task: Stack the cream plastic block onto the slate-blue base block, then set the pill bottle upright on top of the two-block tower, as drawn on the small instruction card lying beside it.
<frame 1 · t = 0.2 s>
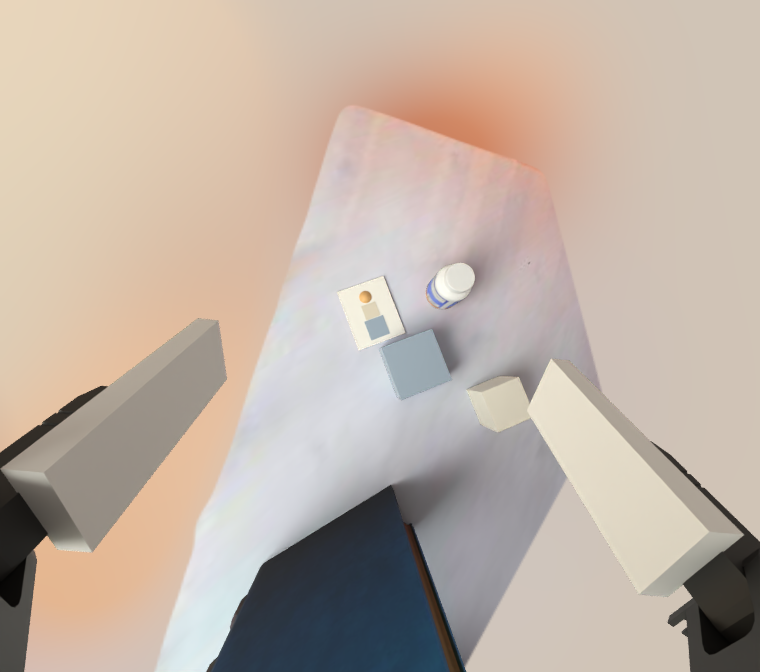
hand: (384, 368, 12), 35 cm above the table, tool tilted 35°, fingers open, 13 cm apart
base block: (410, 364, 48), on the table
pill bottle: (440, 294, 50), on the table
book: (334, 554, 44), on the table
cream cube: (489, 399, 49), on the table
instruction card: (371, 312, 48), on the table
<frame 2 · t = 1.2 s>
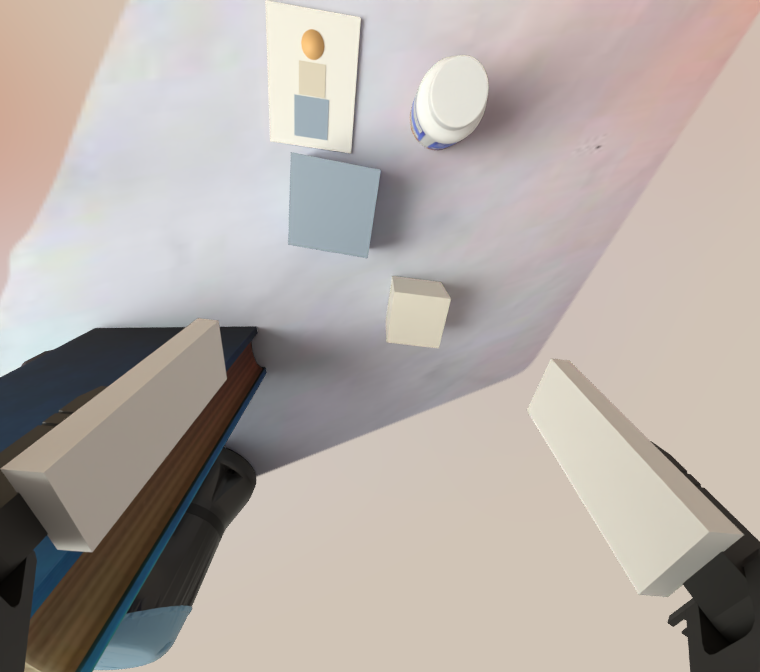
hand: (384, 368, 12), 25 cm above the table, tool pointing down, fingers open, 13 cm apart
base block: (338, 205, 33), on the table
pill bottle: (436, 118, 29), on the table
book: (176, 355, 42), on the table
cream cube: (412, 301, 38), on the table
instruction card: (312, 84, 28), on the table
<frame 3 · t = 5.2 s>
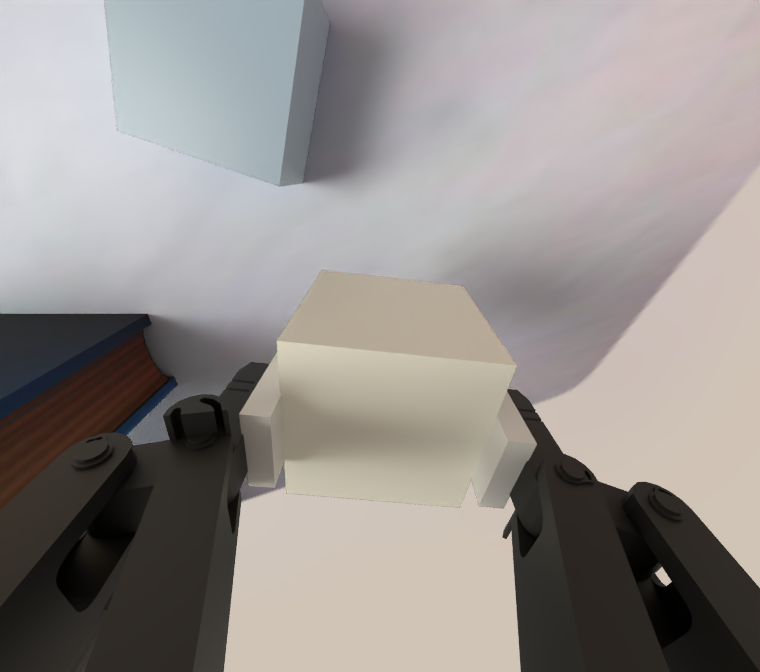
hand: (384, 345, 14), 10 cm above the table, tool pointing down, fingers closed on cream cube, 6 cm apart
base block: (249, 87, 18), on the table
book: (41, 356, 28), on the table
cream cube: (384, 339, 14), point 10 cm above the table, touching gripper
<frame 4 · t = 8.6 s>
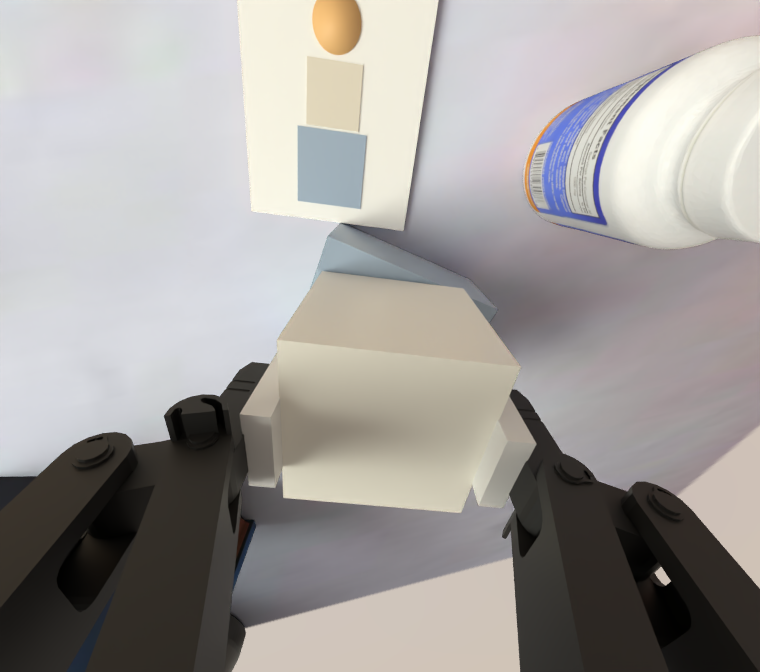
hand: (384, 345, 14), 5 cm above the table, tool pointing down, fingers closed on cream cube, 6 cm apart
base block: (380, 310, 19), on the table, touching gripper
pill bottle: (571, 167, 15), on the table
book: (119, 506, 27), on the table
cream cube: (384, 341, 14), point 5 cm above the table, touching gripper
instruction card: (334, 105, 14), on the table
when the fingers open (5 cm above the table, at t = 8.8 s): cream cube stays where it is, resting on base block.
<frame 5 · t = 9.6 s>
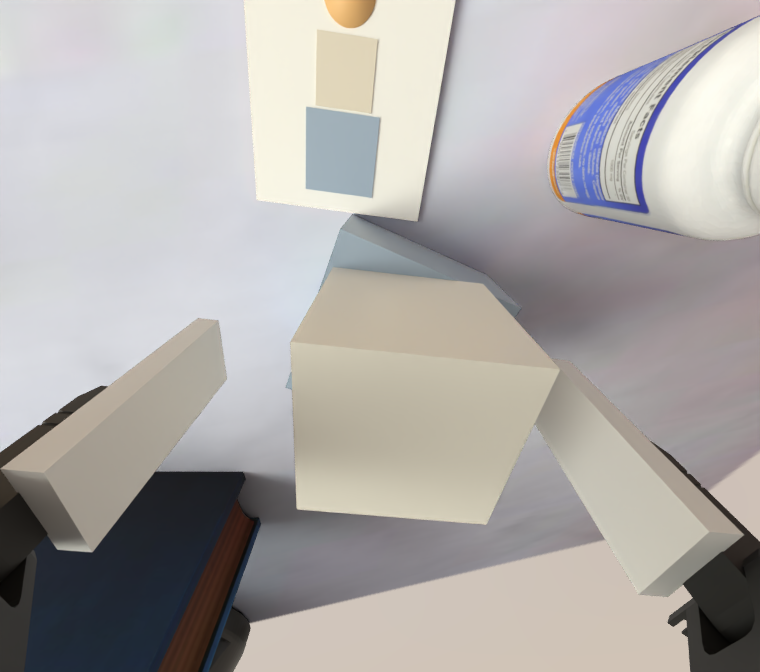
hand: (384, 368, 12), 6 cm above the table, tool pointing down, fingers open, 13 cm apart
base block: (391, 307, 18), on the table, touching cream cube
pill bottle: (600, 152, 14), on the table
book: (124, 501, 27), on the table
cream cube: (398, 341, 13), point 5 cm above the table, touching base block
instruction card: (345, 85, 13), on the table
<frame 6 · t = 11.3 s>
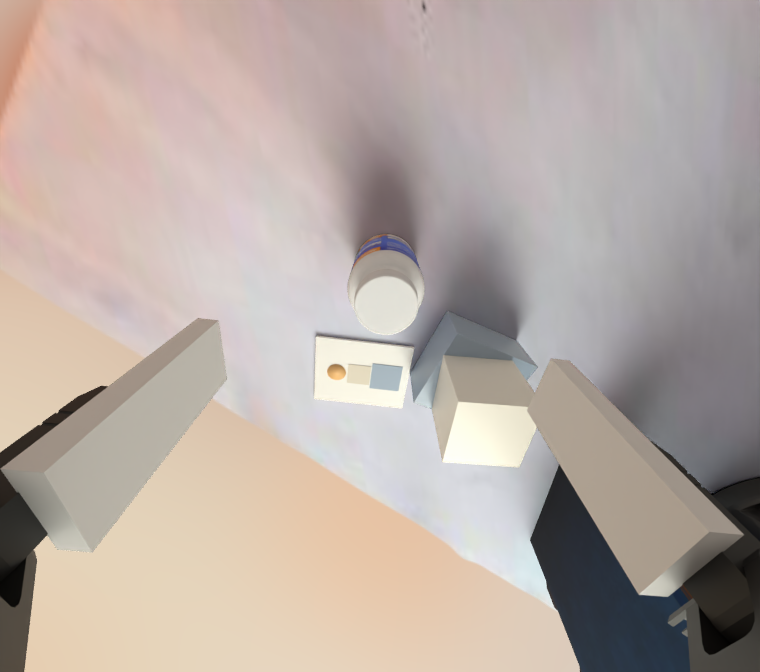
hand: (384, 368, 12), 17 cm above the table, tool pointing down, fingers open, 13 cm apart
base block: (461, 356, 31), on the table, touching cream cube
pill bottle: (385, 264, 27), on the table
book: (575, 502, 42), on the table, touching arm
cream cube: (470, 385, 27), point 5 cm above the table, touching base block
instruction card: (361, 373, 32), on the table
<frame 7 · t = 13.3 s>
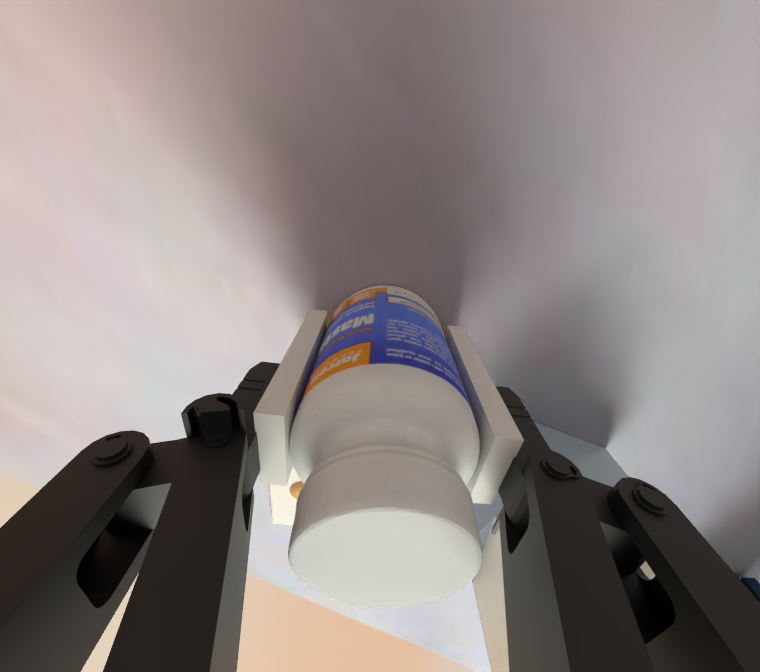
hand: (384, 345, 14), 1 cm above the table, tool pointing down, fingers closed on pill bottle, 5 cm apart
base block: (509, 467, 19), on the table, touching cream cube
pill bottle: (384, 334, 15), on the table, touching gripper
cream cube: (542, 554, 15), point 5 cm above the table, touching base block
instruction card: (346, 490, 20), on the table
when the fingers open (13 cm above the table, at t = 18.0 s): pill bottle drops 2 cm, resting on cream cube.
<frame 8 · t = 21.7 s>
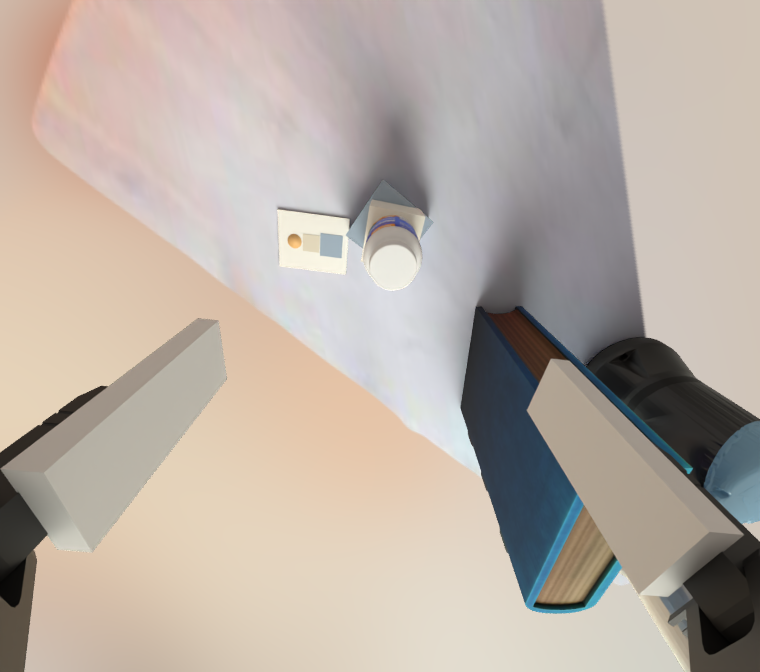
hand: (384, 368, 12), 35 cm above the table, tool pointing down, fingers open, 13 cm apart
base block: (388, 223, 43), on the table, touching cream cube
pill bottle: (391, 240, 33), point 11 cm above the table, touching cream cube
book: (490, 367, 54), on the table
cream cube: (391, 229, 38), point 5 cm above the table, touching base block, pill bottle
instruction card: (313, 243, 44), on the table
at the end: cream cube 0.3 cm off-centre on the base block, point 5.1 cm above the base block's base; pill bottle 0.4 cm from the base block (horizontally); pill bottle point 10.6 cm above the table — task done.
